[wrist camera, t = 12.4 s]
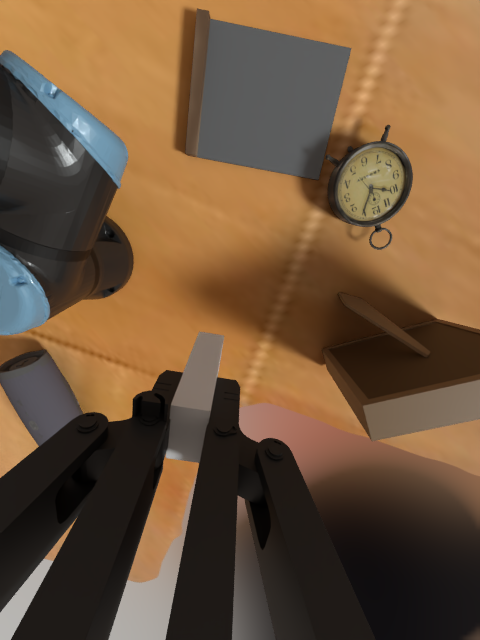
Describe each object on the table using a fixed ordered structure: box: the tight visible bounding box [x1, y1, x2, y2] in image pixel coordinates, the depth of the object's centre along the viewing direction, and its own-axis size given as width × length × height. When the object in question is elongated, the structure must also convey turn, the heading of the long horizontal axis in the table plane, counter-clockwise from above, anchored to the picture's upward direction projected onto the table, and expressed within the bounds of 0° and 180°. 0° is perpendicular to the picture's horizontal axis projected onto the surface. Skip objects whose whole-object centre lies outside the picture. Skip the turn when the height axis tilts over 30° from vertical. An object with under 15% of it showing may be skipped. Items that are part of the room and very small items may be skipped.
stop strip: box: [185, 9, 210, 157], centre depth 39 cm, size 2×16×2 cm, turn 170°
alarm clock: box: [326, 125, 413, 250], centre depth 42 cm, size 11×5×16 cm
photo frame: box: [322, 292, 480, 441], centre depth 41 cm, size 15×22×25 cm
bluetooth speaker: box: [0, 350, 83, 446], centre depth 56 cm, size 23×9×10 cm, turn 12°
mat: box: [193, 19, 351, 180], centre depth 40 cm, size 20×16×1 cm
